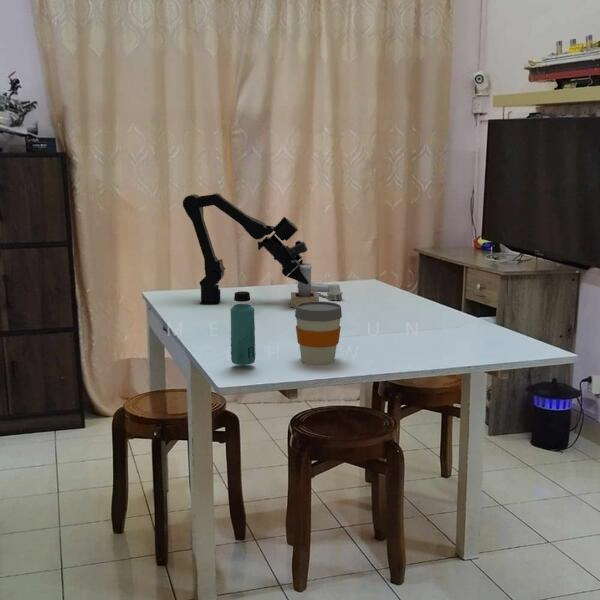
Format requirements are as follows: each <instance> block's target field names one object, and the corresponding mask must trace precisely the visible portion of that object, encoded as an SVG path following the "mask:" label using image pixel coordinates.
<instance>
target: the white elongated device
mask: <svg viewBox="0 0 600 600" xmlns="http://www.w3.org/2000/svg"><path fill="white" fill-rule="evenodd" d="M311 292H317V293H326V295H327V299H329V300H328V301H343V300H342V299H343V296H342V295H343V293H344V292H343V291H341V287H340V284H338V283H333V284H328V283H327V284H326V283H320V282H313V281H311Z"/></svg>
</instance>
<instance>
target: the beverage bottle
mask: <svg viewBox="0 0 600 600" xmlns="http://www.w3.org/2000/svg"><path fill="white" fill-rule="evenodd" d="M250 294H251V293H250V292H249V291H236V292H234V297H233V300H234V301H235V302H237V303H236V304H234V305H233V306H232V307H231V308H230V336H229V337H230V360H231V361H230V362H231V363H232V364H234V365H240V366H244V365H245V366H247V365H252V364H254V363H255V362H256V351H257V349H256V347H257V346H256V333H255V332H256V325H255V324H256V322H255V312H256V311H255V307H253V306H252V305H251V304H249V303H242V302H249V301H251V295H250ZM238 302H241V303H238Z"/></svg>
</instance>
